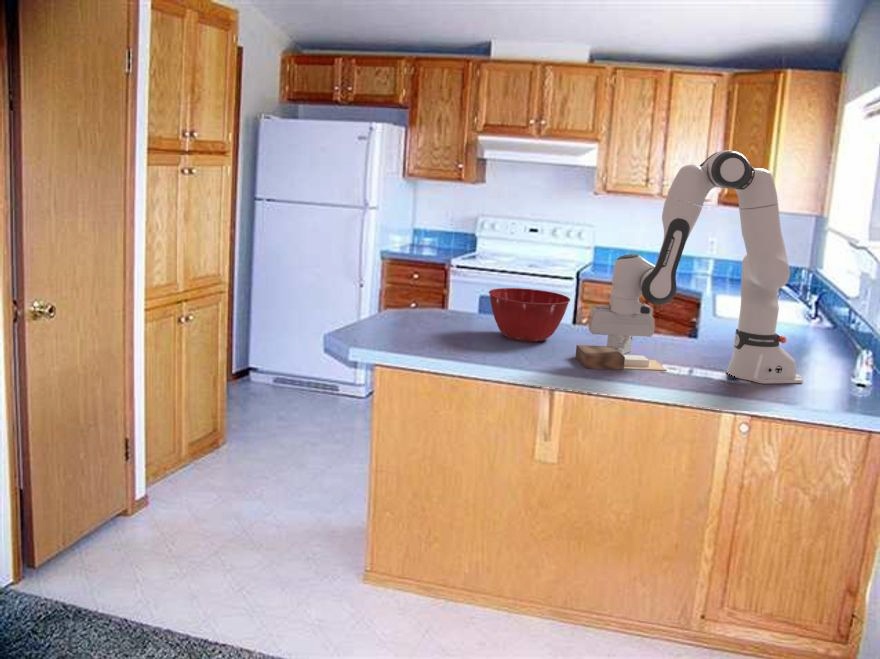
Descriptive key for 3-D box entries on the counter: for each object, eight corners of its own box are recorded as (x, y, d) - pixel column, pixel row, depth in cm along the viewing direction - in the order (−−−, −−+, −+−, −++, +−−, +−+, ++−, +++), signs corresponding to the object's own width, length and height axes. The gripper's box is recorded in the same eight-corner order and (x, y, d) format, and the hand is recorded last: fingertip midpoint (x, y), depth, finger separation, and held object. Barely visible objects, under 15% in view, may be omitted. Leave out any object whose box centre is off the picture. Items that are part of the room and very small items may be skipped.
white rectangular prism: (643, 361, 281) (643, 355, 281) (648, 366, 275) (649, 360, 275) (615, 360, 280) (616, 354, 280) (620, 365, 274) (621, 359, 274)
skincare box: (622, 355, 289) (626, 311, 286) (605, 352, 292) (609, 308, 289) (631, 351, 296) (636, 308, 293) (614, 348, 299) (619, 305, 296)
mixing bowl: (564, 332, 319) (568, 291, 316) (568, 350, 291) (572, 305, 288) (487, 326, 322) (490, 285, 318) (483, 343, 294) (486, 298, 291)
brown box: (611, 358, 284) (613, 346, 283) (623, 369, 270) (624, 357, 270) (575, 356, 283) (576, 344, 282) (585, 368, 270) (586, 355, 269)
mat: (654, 361, 284) (654, 360, 284) (666, 370, 273) (666, 369, 273) (612, 359, 283) (612, 358, 283) (622, 368, 271) (622, 367, 271)
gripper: (593, 306, 269) (589, 350, 272) (658, 309, 271) (653, 352, 274) (588, 302, 276) (584, 345, 278) (652, 305, 277) (647, 347, 280)
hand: (619, 349), depth 276 cm, fingers closed
